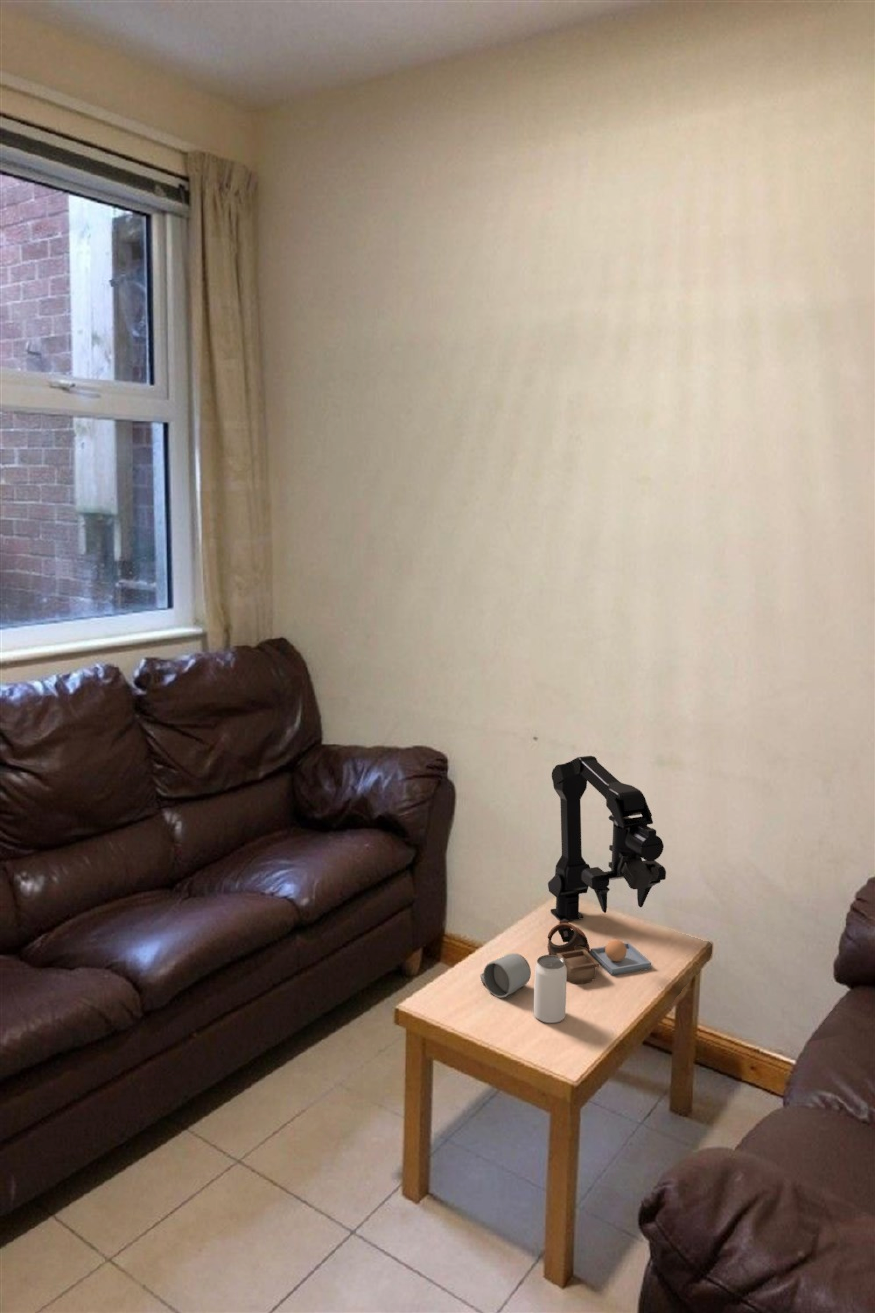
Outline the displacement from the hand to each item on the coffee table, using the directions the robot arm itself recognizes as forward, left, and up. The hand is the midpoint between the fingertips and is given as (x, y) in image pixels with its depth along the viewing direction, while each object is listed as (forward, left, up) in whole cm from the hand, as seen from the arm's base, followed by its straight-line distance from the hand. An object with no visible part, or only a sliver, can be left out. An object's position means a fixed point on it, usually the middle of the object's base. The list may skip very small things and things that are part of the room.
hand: (622, 909), depth 212 cm
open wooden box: (+3, -12, -12) cm, 18 cm away
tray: (+1, 0, -12) cm, 12 cm away
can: (+16, -25, -13) cm, 32 cm away
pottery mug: (-7, -10, -13) cm, 17 cm away
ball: (+1, -2, -9) cm, 10 cm away
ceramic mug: (+3, -30, -13) cm, 33 cm away
